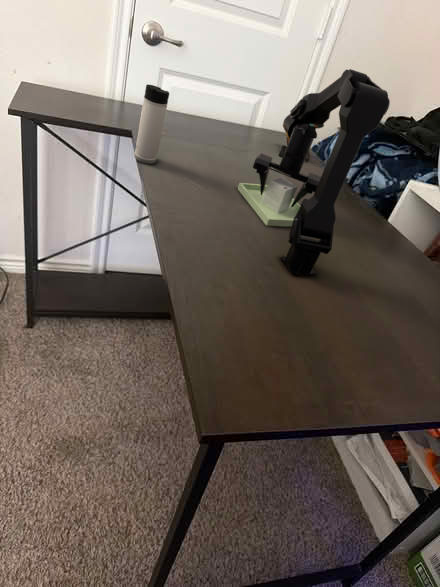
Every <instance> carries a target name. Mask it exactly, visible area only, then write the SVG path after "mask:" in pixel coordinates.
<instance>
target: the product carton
mask: <svg viewBox="0 0 440 587" xmlns="http://www.w3.org/2000/svg"><path fill="white" fill-rule="evenodd" d="M267 185H268V187H267V189H266V192H265V194H264V197H263V199H262V202H261V203H262V204H264V205H265V206H267V207H268V208H270V209H271V210H273V211H274V212H276V213H279V212H282V211H284V210H287V209H288V208H289V206H290V204H291V201H292V199H293V198H294V197H295V194H296V192H297V189H298V186H297V185H295V184H294V183H292V182H291V181H289V180H288V179H286V178H284V177H283V176H280V177H276V178H272V179H269V181H268V184H267Z"/></svg>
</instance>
